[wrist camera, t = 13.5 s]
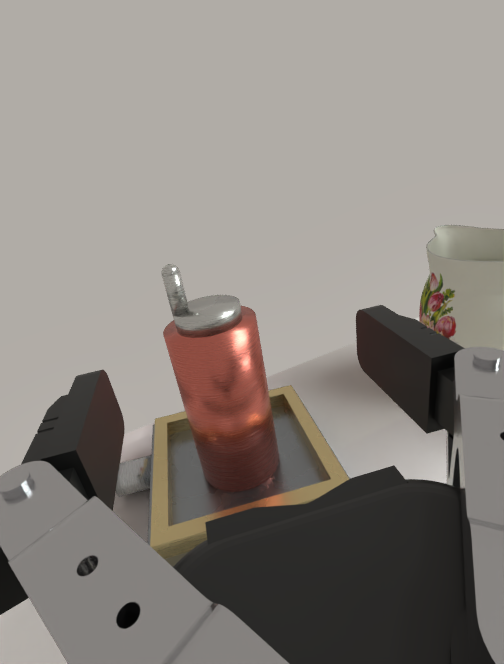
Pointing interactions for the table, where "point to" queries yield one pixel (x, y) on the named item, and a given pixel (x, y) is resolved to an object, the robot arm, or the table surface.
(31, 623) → the table surface
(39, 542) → the robot arm
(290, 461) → the grey tray
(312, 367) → the table surface
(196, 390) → the spout can
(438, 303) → the pitcher
